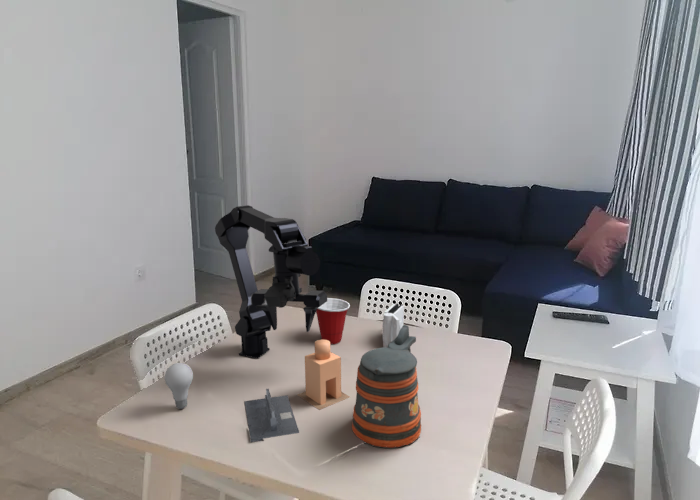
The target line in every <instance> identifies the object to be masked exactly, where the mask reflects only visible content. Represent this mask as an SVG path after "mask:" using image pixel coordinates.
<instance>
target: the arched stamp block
mask: <svg viewBox="0 0 700 500" xmlns="http://www.w3.org/2000/svg"><path fill="white" fill-rule="evenodd" d="M304 372H305V373H304V375H305V376H304V379H305V382H304V384H305V391H306V395H307V396H308V397H310V398H311V399H313V400H314V401H315V402H317V403H318V404H320V405H322V404H325V403H326V392H327V393H328V394H330V395H331V396H333V397H335V398H336V399H337V398H339V397H341V392H342V356H340V355H337V354H335V353H333V352H331V344H330V341H328V340H322V339H317V340H316V341H314V352H313V353H310V354H307V355H304Z"/></svg>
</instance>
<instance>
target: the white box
mask: <svg viewBox="0 0 700 500" xmlns="http://www.w3.org/2000/svg"><path fill="white" fill-rule="evenodd" d="M404 315H405V305H404V304H399V303H396V304H395V303H393V304H392V305H390V306H389V307H388V308H387V309H386V310H385V311H384V313H383V319H382V348H383V347H388V344H389V343H391V342H392V341H393V340H394V339H395V338H396V337H397V336H398V333H399V331H400V329H401V328H402V326H403V325H405V324H404V323H405V322H404V318H405V317H404Z"/></svg>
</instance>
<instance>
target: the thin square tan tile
mask: <svg viewBox="0 0 700 500" xmlns="http://www.w3.org/2000/svg"><path fill="white" fill-rule="evenodd" d="M297 396H298V397H300V398H301V399H302V400H304V401H305V402H307V403H308V404H309V405H310V406H311V405H312V407H314V408H316V409H317V410H319V411H320V410H323V409H325V408H328V407H330V406H333V405H334V404H335V405H336V404H338V403H340V402H343V401H344V400H348V399H349V398H351V396H349V395H348V394H346V393H345V392H343V391H341V397H339V398H337V399H336V398H335V397H333V396H331V395H330V394H328V393H327V392H326V403H325V404H322V405H320V404H318V403H317V402H315V401H314V400H313V399H311V398H310V397H308V396H307V395H306V390H305V391H303V392H300V393H298V394H297Z"/></svg>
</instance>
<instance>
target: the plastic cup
mask: <svg viewBox="0 0 700 500" xmlns="http://www.w3.org/2000/svg"><path fill="white" fill-rule="evenodd" d="M350 307H351V305H350V303H349V302H348V301H346V300H343V299H340V298H336V297H335V298H333V297H327V302H325V303H324V304H323V305H321V306H320V307H318V309H317V311H316V313H315V315H316V319H317V324H318V329H319V333H320V338H321V339H320V340H328V341H330V345H337V344H340V343H341V342H342V338H343V332H344V328H345V325H346V324H345V322H346V317H347V313H348V310H349V309H350Z"/></svg>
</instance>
